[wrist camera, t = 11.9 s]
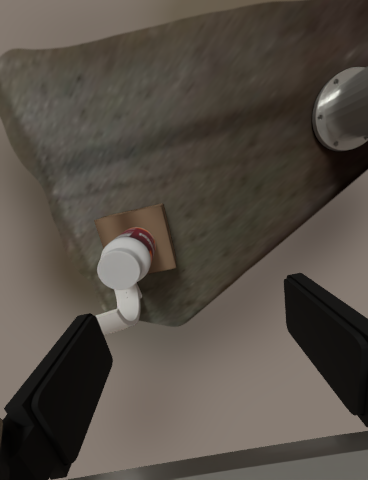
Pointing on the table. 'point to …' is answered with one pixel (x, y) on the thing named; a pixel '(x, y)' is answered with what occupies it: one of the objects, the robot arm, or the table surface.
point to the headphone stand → (122, 311)
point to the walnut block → (150, 221)
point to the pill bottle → (126, 258)
